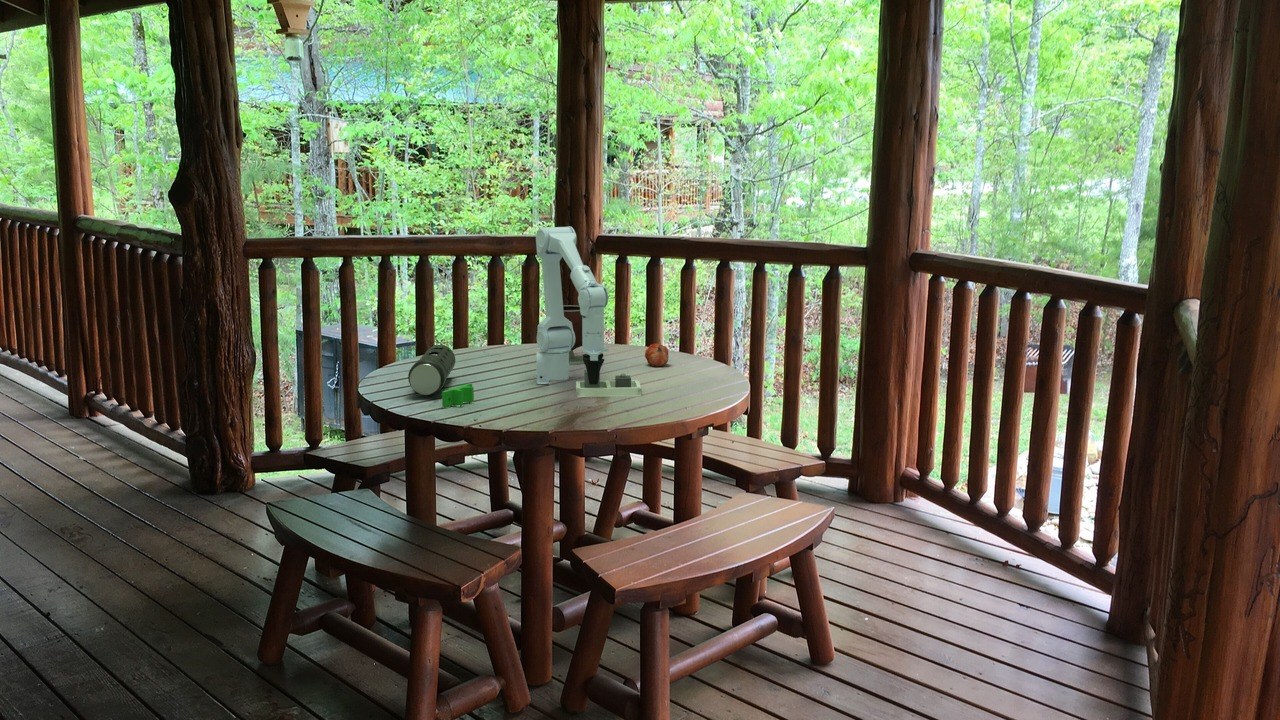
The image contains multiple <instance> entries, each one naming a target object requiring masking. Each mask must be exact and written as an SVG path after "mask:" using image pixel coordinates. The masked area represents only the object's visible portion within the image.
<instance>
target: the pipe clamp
mask: <svg viewBox="0 0 1280 720" xmlns="http://www.w3.org/2000/svg"><path fill="white" fill-rule="evenodd" d="M474 388H475V387H474V386H473V383H466V384H463V385H460V386H456V387H452V388H449V389H446V390H442V391H441V399H442V401H441V402H442V405H441V406H442V407H445V408H446V407H449V406H452V405H460V406H462V405H463V406H464V404H463V402H474V403H475V400H474V399H475V396H474V395H475V394H474V392H475V390H474ZM442 407H441V408H442ZM445 408H444V409H445Z"/></svg>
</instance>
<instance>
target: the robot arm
mask: <svg viewBox="0 0 1280 720" xmlns="http://www.w3.org/2000/svg"><path fill="white" fill-rule="evenodd" d="M577 238H578V237H577V233H576V231H575V229H574V228H573V227H572V226H571V225H570V226H569V225H568V226H557V227H556V226H555V227H554V226H553V227H547V226H542V227H539V229H538V231H537V233H536V235H535V243H536V244H535V245H536V254H537V257H538V258H540V260H541V272H542V282H543V283H542V285H543V295H544V296H543V297H544V301H545V303H544V306H545V309H544V310H545V318H544V319H542V321H541V322H540V323H538V325H537V331H536V332H537V333H536V343H537V344H536V345H537V347H538V349H539V351H536V370H535V378H536V385H550V381H565V380H569V379H570V365H569V351H571V348H572V347H573V346H574V344H575V333H574V331H573V327H572V322H570V321H569V320H568V319H567V318H565V317H564V311H563V306H564V300H563V290H562V289H563V287H562V277H561V265H560V261H561V260H562V258H563V260H564V261H565V263H566V265H567V266H568V268H569V269H570V271H571V272H570V275H569V276H570V279H571V282H572V284H573V286H574V287H575V290H576V291H577V293H578V296H577V303H578V306H580V313H581V315H582V346H581V347H582V348H581V352H582V353H583V354H581V355H582V356H581V357H583V362H584V364H583V365H584V366H585V370H586V369H587V373H588V380H589V384H598V380H599V374H600V375H601V369H602V366H603V364H604V363H605V358H604V353H606V352H609V348H608V347H605V308H606V307H607V306H608V304H609V294H608V290H607V288H606V286H604V285H602V284H601V283H598V282H597V280H596V277H595V276H594V274H593V272H592V270H591V268H590V266H588V265H585V264H584V263H583V261H582V259H581V256H580V253H579V250H578V249H577ZM555 326H561V327H562V328H553V329H548V328H550V327H555Z"/></svg>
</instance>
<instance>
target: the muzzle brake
mask: <svg viewBox="0 0 1280 720" xmlns="http://www.w3.org/2000/svg"><path fill="white" fill-rule="evenodd" d="M455 364H456V355H455V353H454V351H453V350H452V349H451V348H450V347H449V346H447V345H444V344H436V345H433V346H431V347H429V348H427V350H426V352H424V354H423V355H422V356H421V357H420V358H419V360H417V361H416V362H415V363H414V364H413V365H412V366H411V367H410V369H409V372H408V374H407V375H408V376H407V379H408V384H409V386H410V388H411V389H412V391H414V392H415V393H417V394H419V395H421V396H432V395H433V396H434V395H435V394H437V393H439V392H440V391H441V389H442V388H443V386H444V385H445V384H446V381H447V379H448V377H449V375H450V374H451V372H452V371H453V369H454V367H455V366H456V365H455Z"/></svg>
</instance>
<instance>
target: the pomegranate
mask: <svg viewBox="0 0 1280 720" xmlns="http://www.w3.org/2000/svg"><path fill="white" fill-rule="evenodd" d="M644 352H645V353H644V357H645V359H646V361H647V363H648V365H650V366H651V367H663V366H665V365H667V364H668V362H669V350H668V347H667V346H666V345H662V344H660V343H658V342H657V343H656V342H655V343H651V344H650V345H649V346H648V347H647V348H646V350H645V351H644Z"/></svg>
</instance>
